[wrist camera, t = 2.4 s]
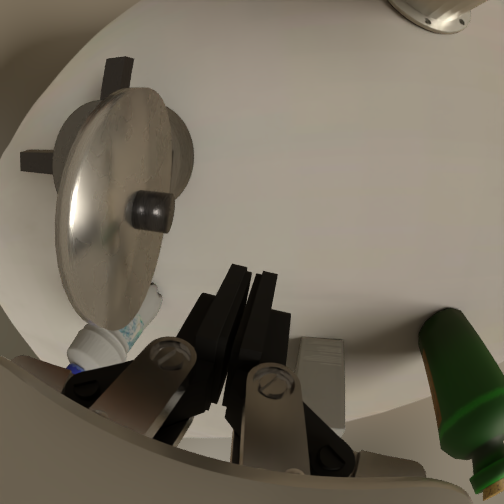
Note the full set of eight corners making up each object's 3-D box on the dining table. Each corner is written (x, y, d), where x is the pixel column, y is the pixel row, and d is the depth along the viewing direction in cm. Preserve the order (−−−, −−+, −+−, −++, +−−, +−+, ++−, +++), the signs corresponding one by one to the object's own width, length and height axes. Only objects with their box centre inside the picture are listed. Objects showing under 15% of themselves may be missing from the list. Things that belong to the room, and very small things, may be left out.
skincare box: (334, 374, 41) (335, 460, 27) (291, 371, 42) (279, 457, 28) (345, 336, 38) (353, 431, 23) (296, 333, 39) (286, 429, 25)
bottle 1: (132, 304, 42) (60, 392, 25) (126, 268, 39) (40, 356, 22) (168, 314, 42) (103, 415, 24) (165, 277, 39) (84, 380, 21)
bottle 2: (403, 356, 38) (433, 522, 13) (420, 301, 33) (486, 492, 8) (456, 350, 36) (503, 493, 11) (477, 298, 31) (557, 451, 6)
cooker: (65, 77, 28) (19, 77, 20) (217, 68, 26) (184, 49, 18) (62, 220, 38) (23, 242, 30) (193, 253, 36) (162, 291, 28)
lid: (53, 78, 6) (126, 69, 6) (168, 95, 19) (205, 97, 19) (90, 377, 13) (138, 391, 13) (156, 256, 26) (187, 261, 26)
